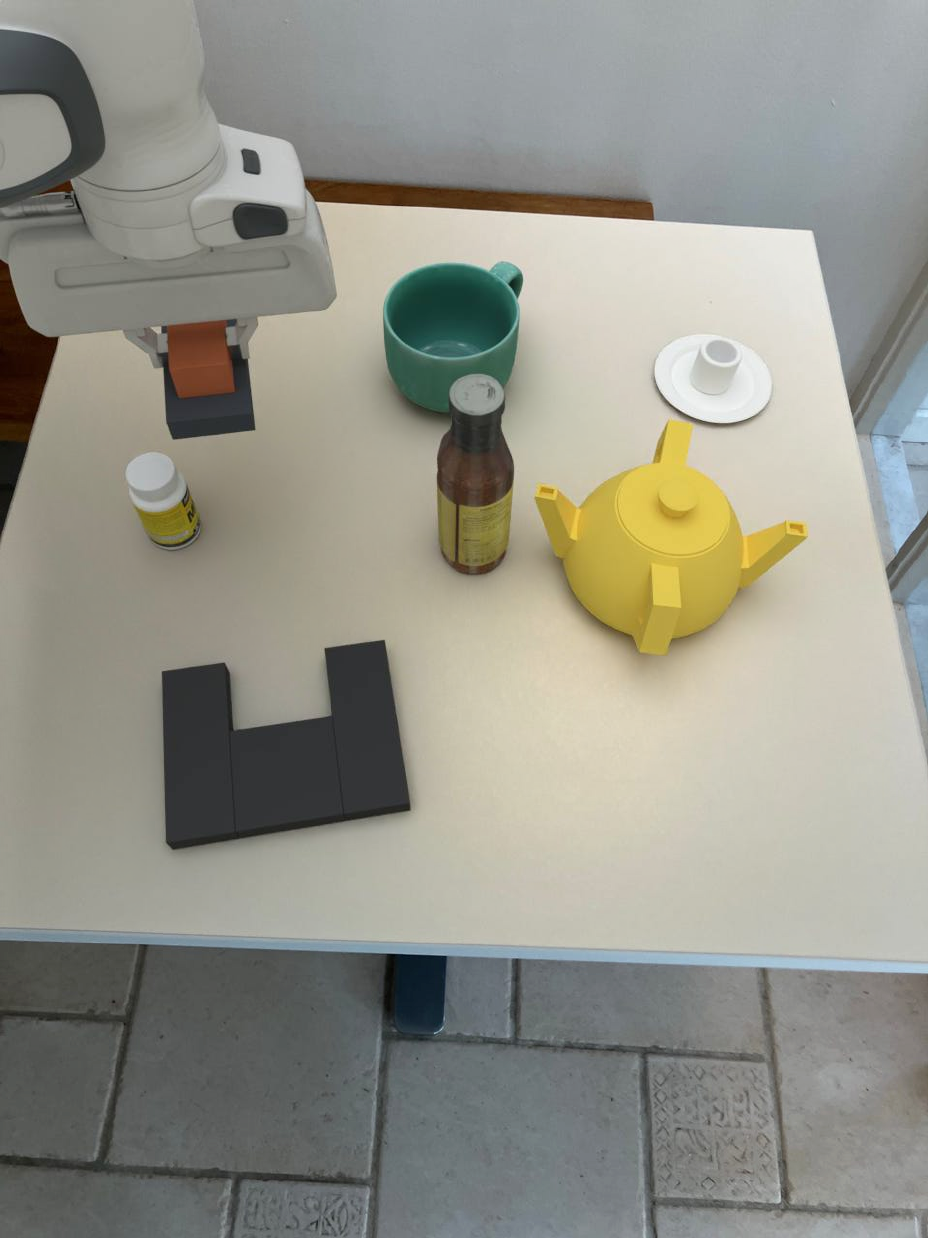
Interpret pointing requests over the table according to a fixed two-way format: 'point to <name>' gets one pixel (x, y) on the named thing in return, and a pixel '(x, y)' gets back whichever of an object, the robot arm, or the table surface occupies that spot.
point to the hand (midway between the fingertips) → (202, 357)
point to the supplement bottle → (162, 501)
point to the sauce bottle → (474, 477)
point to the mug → (451, 328)
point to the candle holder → (713, 378)
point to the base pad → (280, 755)
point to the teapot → (659, 546)
